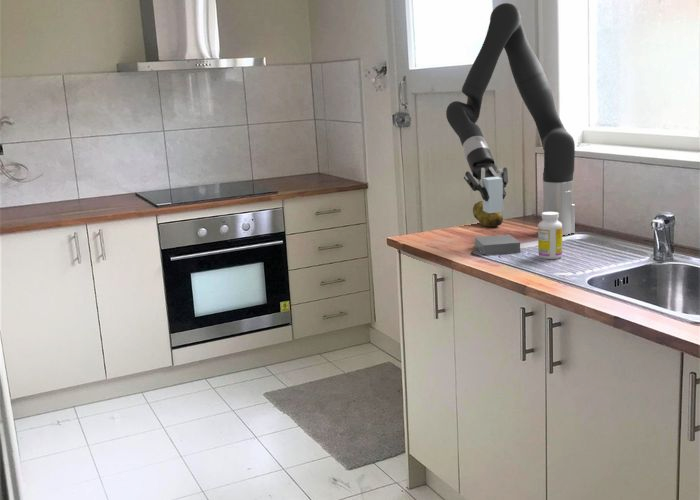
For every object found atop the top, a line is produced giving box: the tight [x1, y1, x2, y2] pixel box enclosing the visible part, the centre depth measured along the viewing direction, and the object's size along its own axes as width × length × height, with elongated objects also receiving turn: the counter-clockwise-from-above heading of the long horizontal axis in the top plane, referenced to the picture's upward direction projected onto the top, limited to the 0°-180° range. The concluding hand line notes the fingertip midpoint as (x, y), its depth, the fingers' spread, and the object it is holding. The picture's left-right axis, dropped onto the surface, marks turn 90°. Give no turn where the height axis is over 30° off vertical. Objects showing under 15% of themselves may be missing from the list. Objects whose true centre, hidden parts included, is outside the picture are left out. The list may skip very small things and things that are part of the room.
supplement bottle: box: [537, 211, 563, 260], centre depth 222 cm, size 7×7×13 cm
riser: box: [474, 234, 521, 255], centre depth 235 cm, size 11×11×3 cm
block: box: [482, 176, 504, 213], centre depth 233 cm, size 4×4×10 cm
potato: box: [472, 200, 504, 228], centre depth 269 cm, size 8×13×8 cm, turn 7°
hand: (495, 198), depth 231 cm, fingers closed on block, 4 cm apart
